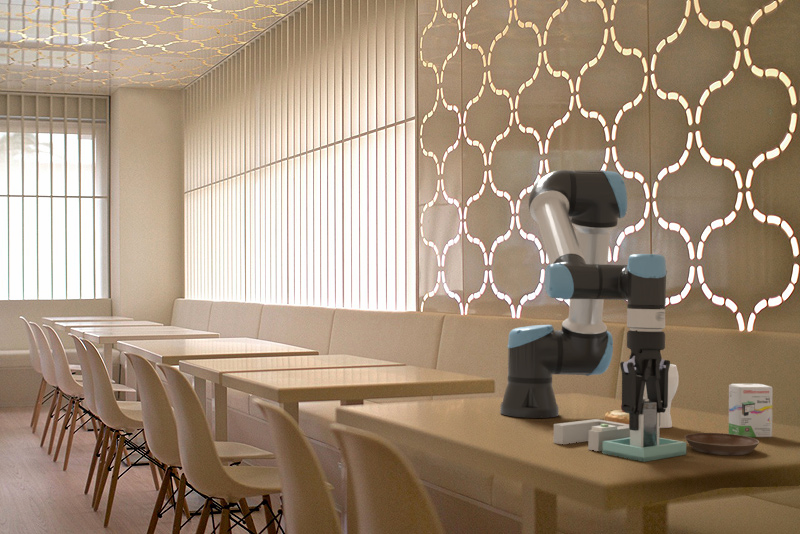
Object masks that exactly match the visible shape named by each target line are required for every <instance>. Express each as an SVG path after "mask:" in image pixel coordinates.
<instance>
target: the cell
mask: <svg viewBox="0 0 800 534" xmlns="http://www.w3.org/2000/svg"><path fill="white" fill-rule="evenodd" d="M635 407H636V406H635ZM640 414H642V415H644V427H643V447H650V446H656V422H657V402H655V401H649V399H648V398H643V402H642V408H641V413H640ZM643 447H642V448H643Z"/></svg>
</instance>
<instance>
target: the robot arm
mask: <svg viewBox="0 0 800 534" xmlns="http://www.w3.org/2000/svg"><path fill="white" fill-rule="evenodd" d="M529 193H530V194H529V198H528V210H529V214H530V215H531V216H530V217H531V218H532V219H533V221H535V223H537V225H538V228H539V231H540V235H541V238H542V242H543V246H544V249H545V252H546V256H547V258H548V261H549V264H548V265H547V266H546V268H545V273H544V286H545V288H544V290H545V293H546V295H547V296H548V297H550V298H551V299H561V300H562V299H563V300H569V309H568V310H569V311H568V317H567V318H565V319H564V320H563V321H562V323H561V330H560V329H554V326H553V325H552V324H538V325H537V324H536V325H527V326H520V327H516V328H512V329H511V330H510V331H509V333H508V342H507V346H506V348H507V384H506V387H505V391H504V395H503V399H502V402H501V403H500V407H499V408H500V414H501V415H505V416H509V417H515V418H523V419H524V418H527V419H528V418H529V419H538V418H539V419H545V418H556V417H558V416H559V410H560V409H559V404H557V399H556V395H555V392H554V388H553V387H554V386H553V375H558V376H559V375H561V376H562V375H563V376H565V375H568V376H569V375H571V376H572V375H573V376H587V377H588V376H594V375H595V376H596V375H597V376H598V375H602V374H604V373H605V372H606V371H607V370H608V369H609V367H610V364H611V361H612V358H613V352H614V346H613V344H614V339H613V334H612V333H611V332H610V331H608V326H607V324H606V323H605V322H604V321H603V313H604V312H603V311H604V303H605V301H604V300H613V301H615V300H616V301H627V304H626V305H627V309H626V327H627V328H628V329H629V330H628V331H627V332H626V348H627V349H629V350H630V354H629V357H628V358H629V359H628V360H627V361H621V362H620V364H619V366H620V371H621V404H622V410H623V411H625V413H629V429H630V445H631V446H637V447H643V427H644V415H642V414H640V413H641V408H642V402H643V395H644V389H645V382H646V390H647V397H648V399H649V401H655V402H657V422H656V445H659V438H660V428H659V427H660V412H663V413H664V412H665V410H666V409H663V408H667V406H668V371H669V367H670V364H671V361H670V360H669V359H663V357H662V354H661V351H663V350H665V349H666V333H665V331H663V330H664V329H665V328H666V296H667V295H666V294H667V273H668V271H667V265H666V264H667V263H666V262H667V261H666V257H665V256H664V255H663V254H658V253H655V254H654V253H635V254H630V255H629V257H628V258H627V264H608V261H609V260H608V259H609V251H610V250H609V249H610V238H611V232H612V231H613V230H614V229H615V228H617V227H618V220H619V219H622V218H625V217H626V214H627V212H628V211H627V210H628V193H627V188H626V183H625V180H624V178H623V177H622V175H621V174H620V173H618V172H617V171H610V170H609V171H608V170H603V169H602V170H601V169H600V170H593V169H592V170H588V169H586V170H584V169H581V170H580V169H579V170H577V169H576V170H575V169H571V170H569V169H558V170H554V171H552V172H549V173H547V174H545V175H544V176H542V177H541V178H540V179H538V181H537V182H536V183H535V184H534V186H533V187H532V189H531V191H530V192H529ZM574 228H575V229H574ZM661 401H662V402H661ZM635 406H636V407H635Z"/></svg>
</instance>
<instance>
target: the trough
mask: <svg viewBox="0 0 800 534" xmlns="http://www.w3.org/2000/svg"><path fill="white" fill-rule="evenodd" d="M601 453H603V454H602V455H607V454H608V456H612V455H614V456H613V457H617V456H619V457H618V458H622V457H624V458H623V459H627V458H628V460H632V461H637V460H638V462H642V463H644V462H651V461H657V460H663V459H668V458H674V457H680V456H685V455H687V441H681V440H678V439H670V438H663V437H659V445H656V446H650V447H643V448H642V447H637V446H631V445H630V437H629V438H622V439H615V440H608V441H603V450H602V451H601Z"/></svg>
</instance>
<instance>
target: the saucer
mask: <svg viewBox="0 0 800 534" xmlns="http://www.w3.org/2000/svg"><path fill="white" fill-rule="evenodd" d="M684 439H685V440H686V441H685V442H686V443H687V444H689V446H690V447H691V448H692V449H693V450H695V451H697V452H700V453H704V454H710V455H711V454H712V455H719V456H743V455H747V454H749V453H751V452H752V451H754V450H755V449H756V448H757V447H758V445H760V441H759V440H758V439H756V438H755V437H747V436H741V435H734V434H729V433H720V432H698V433H697V432H696V433H695V432H694V433H688V434H686V435H684Z"/></svg>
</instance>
